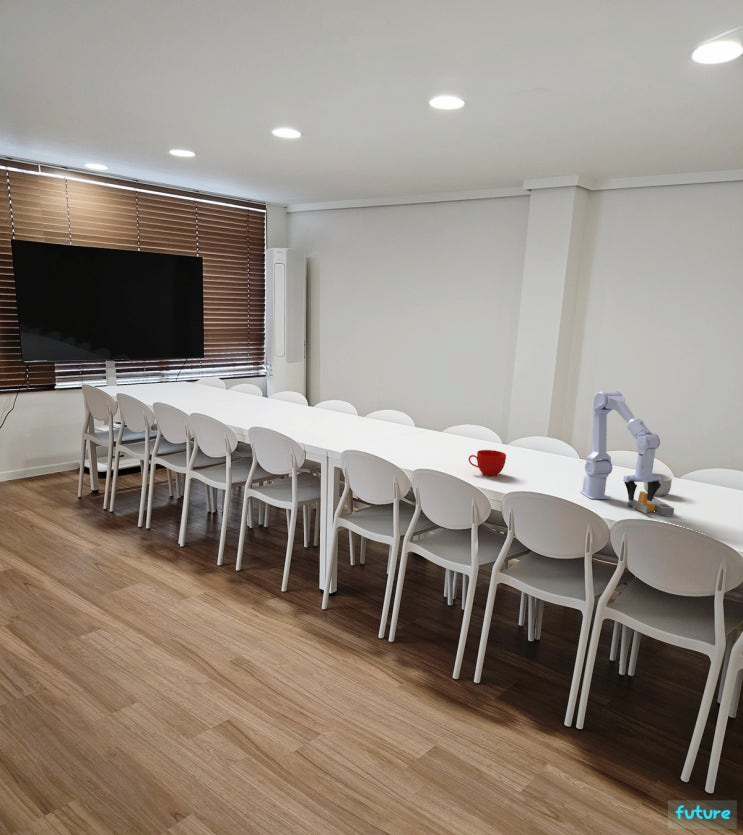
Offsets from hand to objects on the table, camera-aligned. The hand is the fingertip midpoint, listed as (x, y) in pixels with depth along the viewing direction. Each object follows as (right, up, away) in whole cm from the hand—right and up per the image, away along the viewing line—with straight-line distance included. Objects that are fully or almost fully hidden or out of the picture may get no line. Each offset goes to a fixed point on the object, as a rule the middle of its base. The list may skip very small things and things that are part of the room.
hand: (640, 500), depth 234 cm
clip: (+1, -5, +6) cm, 7 cm away
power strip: (+10, -5, +10) cm, 15 cm away
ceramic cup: (-50, +5, +47) cm, 69 cm away
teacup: (+20, -1, +32) cm, 37 cm away
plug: (+5, -5, +7) cm, 10 cm away
